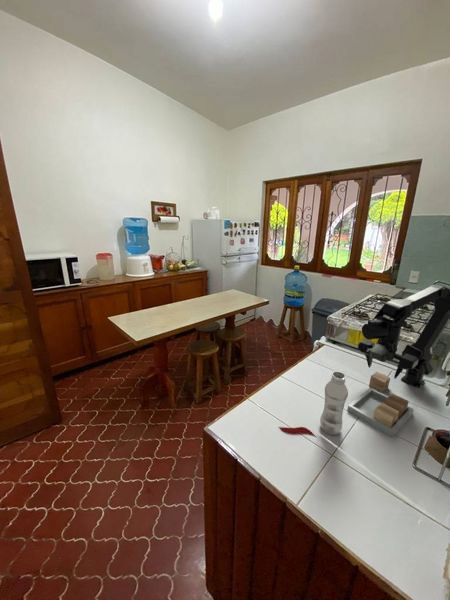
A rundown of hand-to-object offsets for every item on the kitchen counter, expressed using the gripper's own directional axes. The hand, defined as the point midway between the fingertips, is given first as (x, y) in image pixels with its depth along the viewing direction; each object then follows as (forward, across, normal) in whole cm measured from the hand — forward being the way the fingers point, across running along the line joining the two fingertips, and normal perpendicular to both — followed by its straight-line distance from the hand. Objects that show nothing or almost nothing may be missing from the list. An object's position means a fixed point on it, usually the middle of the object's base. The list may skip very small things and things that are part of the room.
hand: (381, 372), depth 96 cm
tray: (+7, +6, -15) cm, 17 cm away
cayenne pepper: (+7, -5, -43) cm, 44 cm away
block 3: (+6, +9, -11) cm, 16 cm away
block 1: (+7, 0, 0) cm, 7 cm away
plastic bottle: (+7, 0, -35) cm, 35 cm away
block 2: (+6, +9, -19) cm, 22 cm away
